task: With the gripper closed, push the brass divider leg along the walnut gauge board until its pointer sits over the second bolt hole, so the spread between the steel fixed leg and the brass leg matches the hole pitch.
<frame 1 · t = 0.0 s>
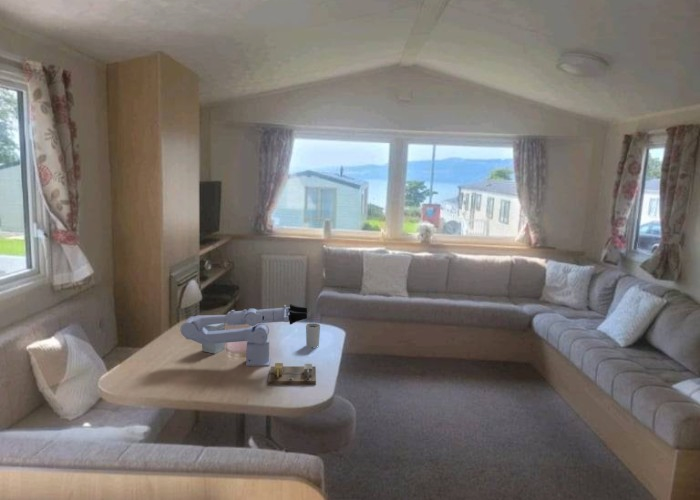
hand: (306, 312, 201), 22 cm above the table, tool horizontal, fingers open, 7 cm apart
brass leg: (278, 370, 187), point 3 cm above the table, slide at 5.0 cm
gauge board: (292, 377, 190), on the table
supplement box: (213, 350, 215), on the table
drinking glass: (312, 346, 225), on the table
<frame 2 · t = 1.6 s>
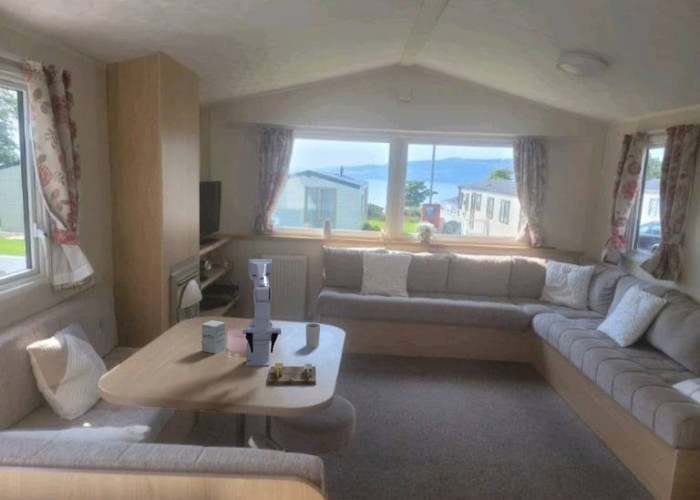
hand: (262, 351, 187), 10 cm above the table, tool pointing down, fingers open, 7 cm apart
nothing on the table moved.
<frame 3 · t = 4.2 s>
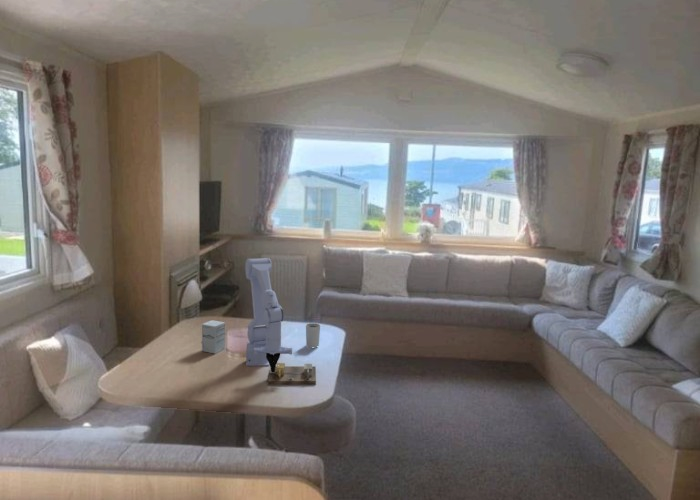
hand: (273, 371, 189), 2 cm above the table, tool pointing down, fingers closed
brass leg: (280, 370, 187), point 3 cm above the table, slide at 4.3 cm, touching gripper
everything else where it was.
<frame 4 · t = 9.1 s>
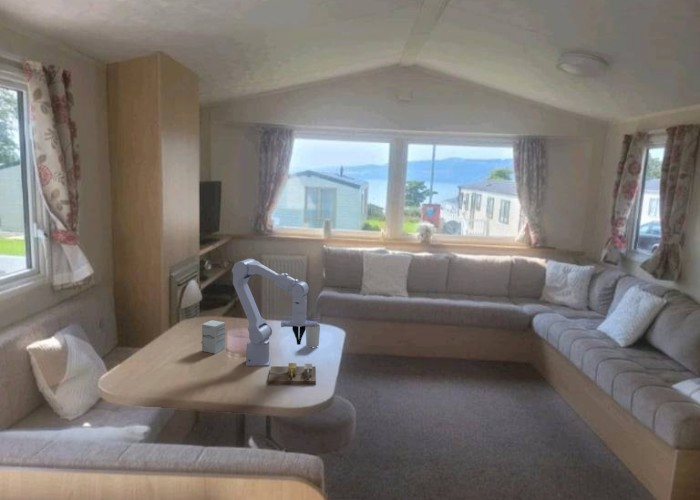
hand: (298, 343, 197), 10 cm above the table, tool pointing down, fingers closed
brass leg: (292, 370, 187), point 3 cm above the table, slide at -0.3 cm
everything else where it was.
at the end: brass leg slide at -0.3 cm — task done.
